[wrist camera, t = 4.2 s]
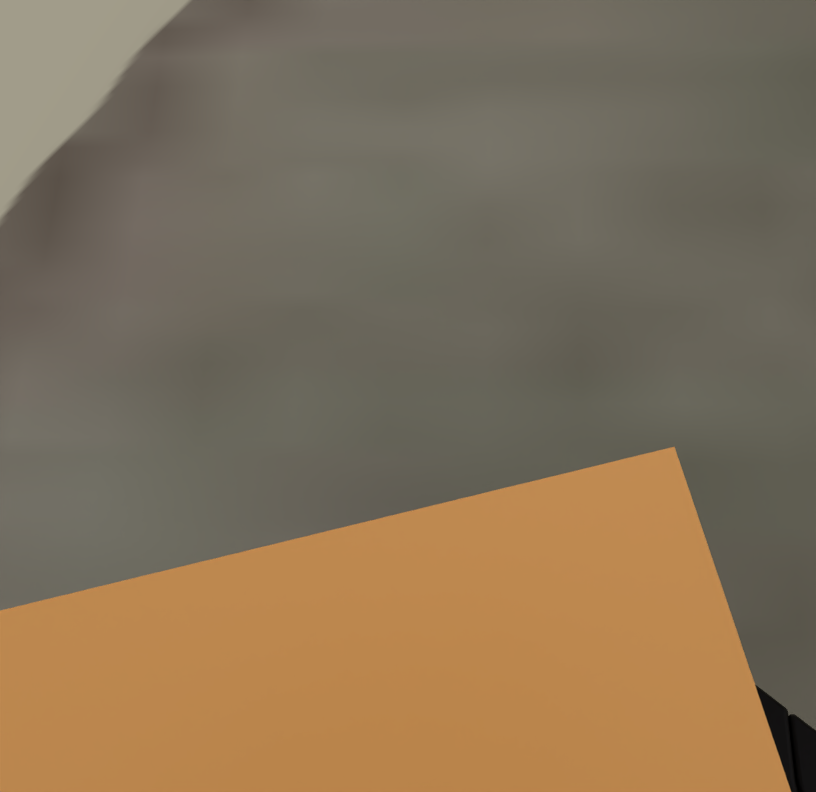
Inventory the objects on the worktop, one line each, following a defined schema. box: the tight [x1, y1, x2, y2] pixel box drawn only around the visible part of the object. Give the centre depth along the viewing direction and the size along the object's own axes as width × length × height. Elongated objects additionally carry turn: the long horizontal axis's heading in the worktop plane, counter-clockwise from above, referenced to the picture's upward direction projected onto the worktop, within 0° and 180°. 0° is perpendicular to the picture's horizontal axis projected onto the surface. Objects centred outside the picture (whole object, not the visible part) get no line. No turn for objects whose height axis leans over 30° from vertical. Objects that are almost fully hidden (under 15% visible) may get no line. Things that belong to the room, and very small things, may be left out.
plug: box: [0, 447, 791, 792], centre depth 9 cm, size 4×4×12 cm
